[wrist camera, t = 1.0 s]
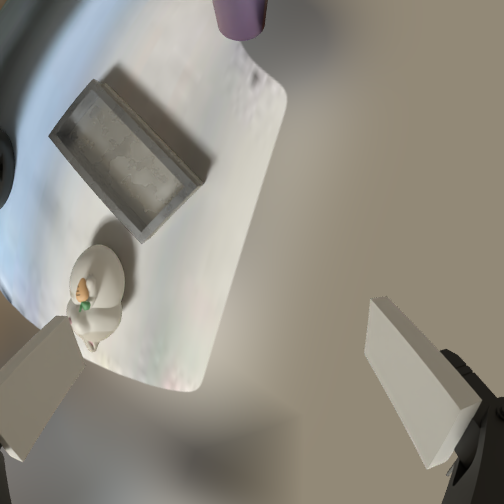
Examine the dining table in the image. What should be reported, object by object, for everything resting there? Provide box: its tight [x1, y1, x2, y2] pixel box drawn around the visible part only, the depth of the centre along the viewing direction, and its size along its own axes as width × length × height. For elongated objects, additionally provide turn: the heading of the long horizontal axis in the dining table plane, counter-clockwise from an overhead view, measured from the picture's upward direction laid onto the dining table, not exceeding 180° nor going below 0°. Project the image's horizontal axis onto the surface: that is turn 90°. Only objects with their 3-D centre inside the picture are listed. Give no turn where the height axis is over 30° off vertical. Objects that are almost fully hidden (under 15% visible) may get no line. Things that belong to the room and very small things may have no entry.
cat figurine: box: [66, 245, 125, 352], centre depth 35 cm, size 10×8×15 cm
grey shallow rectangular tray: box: [49, 79, 204, 244], centre depth 32 cm, size 20×10×4 cm, turn 43°
